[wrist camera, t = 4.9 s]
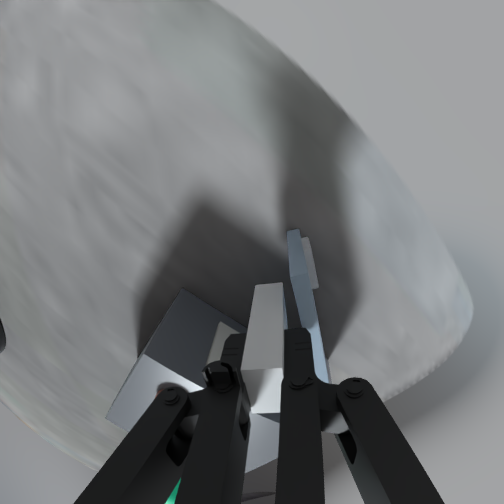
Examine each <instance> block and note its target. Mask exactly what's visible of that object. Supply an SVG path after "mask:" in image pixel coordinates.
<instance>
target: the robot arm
mask: <svg viewBox="0 0 504 504" xmlns="http://www.w3.org/2000/svg"><path fill="white" fill-rule="evenodd" d="M4 349H5V336H4V332H3V328H2V325H1V323H0V353H1V352H2V351H3V350H4ZM202 375H203V377H204V380H205V383H206V385H207V387H206V388H204V389H202V390H199V391H194V392H190V393H187V392H186V391H185V390H184V389H183V388H180V387H174V386H173V387H168V388H166V389H164V390H162V391H161V392H160V393H159V394H158V395H157V396H156V398H155V399H154V400H153V402H152V403H151V404H150V405H149V407H148V408H147V409H146V411H145V412H144V413H143V415H142V416H141V417H140V419H139V420H138V421H137V422H136V424H135V425H134V426H133V428H132V429H131V430H130V432H129V433H128V434H127V436H126V437H125V438H124V439H123V441H122V442H121V443H120V445H119V446H118V447H117V449H116V450H115V451H114V452H113V454H112V455H111V456H110V458H109V459H108V460H107V461H106V463H105V464H104V465H103V467H102V468H101V469H100V470H99V472H98V473H97V474H96V476H95V477H94V478H93V479H92V481H91V482H90V483H89V485H88V486H87V487H86V488H85V490H84V491H83V492H82V493H81V495H80V496H79V497H78V499H77V500H76V501H75V502H74V504H165V503H166V501H167V500H168V498H169V496H170V495H171V493H172V492H173V490H174V488H175V487H176V485H177V483H178V482H179V480H180V478H181V480H180V484H179V488H178V491H177V495H176V499H175V502H174V504H241V498H242V491H243V483H244V476H245V468H246V460H247V452H248V444H249V436H250V428H251V420H250V417H249V414H250V408H251V412H252V413H279V412H280V425H279V447H278V465H277V482H276V497H275V504H325V495H324V472H323V455H322V438H321V431H325V432H330V433H334V435H335V437H336V439H337V441H338V443H339V446H340V448H341V451H342V453H343V455H344V457H345V460H346V462H347V464H348V467H349V469H350V471H351V473H352V476H353V478H354V480H355V482H356V485H357V487H358V489H359V492H360V494H361V496H362V499H363V501H364V503H365V504H444V502H443V500H442V499H441V497H440V495H439V493H438V492H437V490H436V488H435V487H434V485H433V483H432V482H431V480H430V478H429V477H428V475H427V473H426V471H425V470H424V468H423V467H422V465H421V463H420V462H419V460H418V458H417V457H416V455H415V453H414V452H413V450H412V448H411V447H410V445H409V444H408V442H407V440H406V439H405V437H404V436H403V434H402V432H401V431H400V429H399V428H398V426H397V424H396V423H395V421H394V420H393V418H392V416H391V415H390V413H389V412H388V410H387V409H386V407H385V405H384V404H383V402H382V401H381V399H380V398H379V396H378V394H377V393H376V391H375V390H374V388H373V387H372V385H371V384H370V383H369V382H368V381H367V380H365V379H362V378H356V377H354V378H348V379H346V380H344V381H342V382H341V383H340V384H339V385H336V384H329V383H326V382H323V381H321V380H320V379H319V378H318V377H317V375H316V373H315V367H314V358H313V349H312V340H311V334H310V332H309V331H308V330H307V329H306V328H295V329H288V325H287V314H286V306H285V297H284V289H283V282H281V283H271V284H261V285H255V290H254V296H253V302H252V308H251V313H250V319H249V325H248V331H247V333H239V334H230V336H229V337H228V338H227V339H226V340H225V343H224V346H223V350H222V354H221V357H220V360H218V361H214V362H211V363H209V364H208V365H206V366H205V367H204V368H203V370H202Z"/></svg>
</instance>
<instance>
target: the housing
mask: <svg viewBox="0 0 504 504" xmlns="http://www.w3.org/2000/svg"><path fill="white" fill-rule="evenodd" d="M247 331H248V328H246V327H245V326H243V325H241V324H240V323H238V322H236V321H235V320H233V319H231V318H230V317H228V316H226V315H225V314H223V313H221V312H220V311H218V310H217V309H215V308H213V307H212V306H210V305H209V304H207V303H206V302H204V301H202V300H201V299H199V298H198V297H196V296H195V295H193V294H191V293H190V292H188V291H187V290H185V289H184V288H182V289H181V290H180V292H179V294H178V295H177V297H176V298H175V300H174V301H173V303H172V304H171V306H170V308H169V309H168V311H167V312H166V314H165V316H164V317H163V319H162V320H161V322H160V323H159V325H158V327H157V328H156V330H155V331H154V333H153V335H152V336H151V338H150V340H149V341H148V343H147V344H146V346H145V348H144V349H143V351H142V353H141V354H140V356H139V358H138V359H137V361H136V363H135V364H134V366H133V368H132V370H131V371H130V373H129V375H128V377H127V379H126V380H125V382H124V384H123V386H122V387H121V389H120V391H119V393H118V395H117V397H116V398H115V400H114V402H113V404H112V406H111V408H110V409H109V411H108V413H107V415H106V417H105V419H107V420H109V421H110V422H112V423H114V424H115V425H117V426H119V427H120V428H122V429H124V430H126V431H128V432H130V430H131V429H132V428H133V426H134V425H135V424H136V422H137V421H138V420H139V419H140V417H141V416H142V415H143V413H144V412H145V411H146V409H147V408H148V407H149V405H150V404H151V403H152V402H153V400H154V399H155V398H156V396H157V395H158V394H159V393H160V392H161V391H162V390H164V389H166V388H168V387H173V386H174V387H180V388H183V389H184V390H185V391H186V392H187V393H190V392H194V391H199V390H202V389H204V388H206V387H207V385H206V383H205V380H204V377H203V375H202V370H203V368H204V367H205V366H206V365H208V364H209V363H211V362H214V361H218V360H220V357H221V354H222V350H223V346H224V343H225V340H226V339H227V338H228V337H229V336H230V334H239V333H247ZM249 417H250V420H251V428H250V436H249V444H248V452H247V460H246V468H245V473H247V472H249V471H251V470H253V469H255V468H257V467H259V466H262V465H264V464H266V463H268V462H270V461H272V460H274V459H276V458H278V447H279V425H280V412H279V413H252V412H251V408H250V414H249Z"/></svg>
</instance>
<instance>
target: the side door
mask: <svg viewBox="0 0 504 504" xmlns="http://www.w3.org/2000/svg"><path fill="white" fill-rule="evenodd" d="M287 243H288V256H289V270H290V279H291V283H292V287H293V292H294V296H295V300H296V304H297V308H298V313H299V317H300V321H301V325H302V328H306V329H307V330H308V331H309V332H310V334H311V340H312V349H313V358H314V367H315V373H316V375H317V377H318V378H319V379H320V380H321V381H323V382H326V383H329V384H332V381H331V375H330V369H329V363H328V359H327V358H326V357H325V354H324V348H323V343H322V337H321V332H320V326H319V321H318V316H317V311H316V305H315V300H314V295H313V291H312V289H316V288H319V285H318V279H317V274H316V269H315V265H314V260H313V255H312V250H311V246H310V242H309V239H308V237H304V238H301V235H300V231H299V229H295V230H290V231H287Z"/></svg>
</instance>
